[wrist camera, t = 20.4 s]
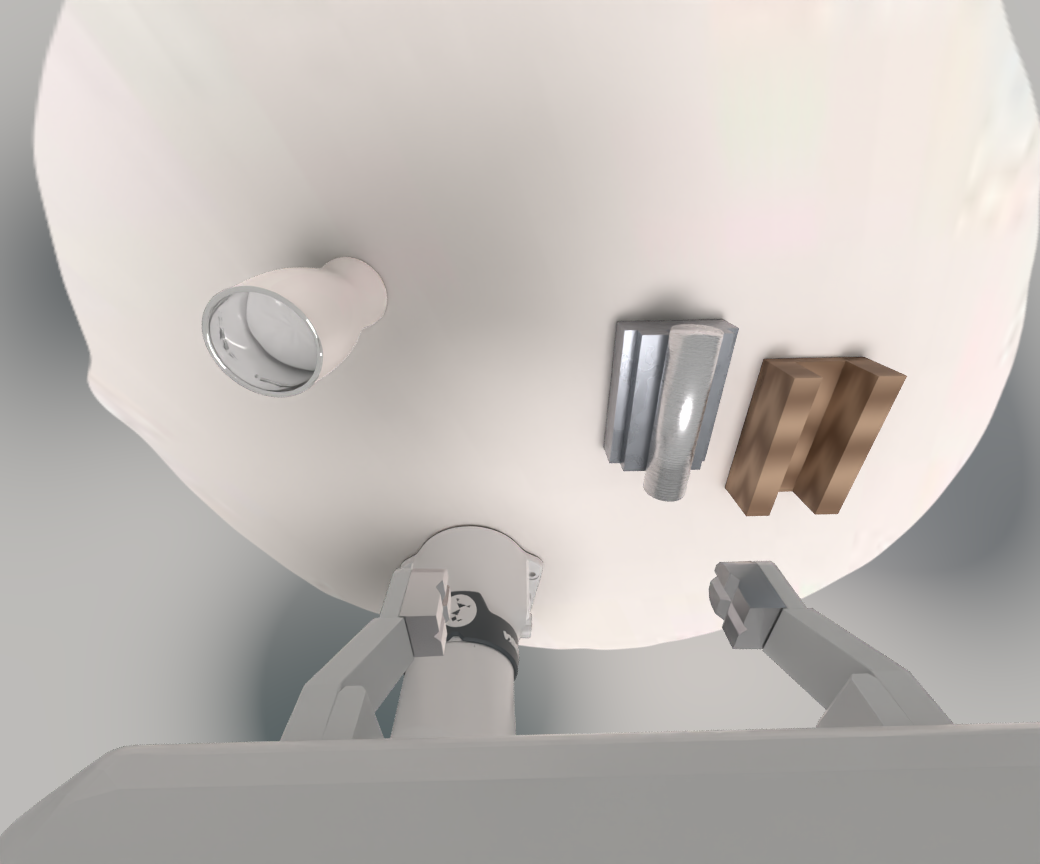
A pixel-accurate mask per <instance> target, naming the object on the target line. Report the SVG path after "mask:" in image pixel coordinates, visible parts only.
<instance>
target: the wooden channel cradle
mask: <svg viewBox="0 0 1040 864" xmlns="http://www.w3.org/2000/svg"><path fill="white" fill-rule="evenodd" d="M906 377H907V376H906V375H904V374H902V373H899V372H897V371H895V370H893V369H890V368H888V367H886V366H883V365H881V364H879V363H877V362H874V361H872V360H870V359H868V358H865V357H834V358H787V359H764V360H763V363H762V366H761V370H760V373H759V376H758V380H757V383H756V386H755V390H754V393H753V396H752V400H751V403H750V406H749V409H748V413H747V416H746V419H745V423H744V426H743V429H742V433H741V436H740V439H739V443H738V446H737V449H736V452H735V456H734V459H733V462H732V466H731V469H730V472H729V476H728V479H727V482H726V486H725V488H726V490H727V491H728V492H729V494H730V495H731V496H732V498H733V499H734V500H735V502H736V503H737V504H738V506H739V507H740V508H741V510H742V511H743V512H744V514H745V515H746V516H769V515H770V512H771V510H772V507H773V505H774V502H775V499H776V497H777V494H778V492H784V491H793V492H794V493H795V494H796V495H797V496H798V497H799V498H800V499H801V501H802V502H803V503H804V504H805V505H806V506H807V507H808V508H809V509H810V510H811V511H812V512H813V513H814V514H838V513H839V511H840V509H841V507H842V505H843V503H844V501H845V499H846V497H847V495H848V493H849V491H850V489H851V487H852V485H853V483H854V481H855V479H856V477H857V475H858V473H859V471H860V469H861V467H862V465H863V463H864V461H865V459H866V457H867V455H868V453H869V451H870V449H871V447H872V445H873V443H874V441H875V439H876V437H877V435H878V433H879V431H880V429H881V427H882V425H883V423H884V421H885V419H886V417H887V415H888V413H889V411H890V409H891V407H892V405H893V403H894V401H895V399H896V397H897V395H898V393H899V391H900V389H901V387H902V385H903V383H904V381H905V379H906Z"/></svg>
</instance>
